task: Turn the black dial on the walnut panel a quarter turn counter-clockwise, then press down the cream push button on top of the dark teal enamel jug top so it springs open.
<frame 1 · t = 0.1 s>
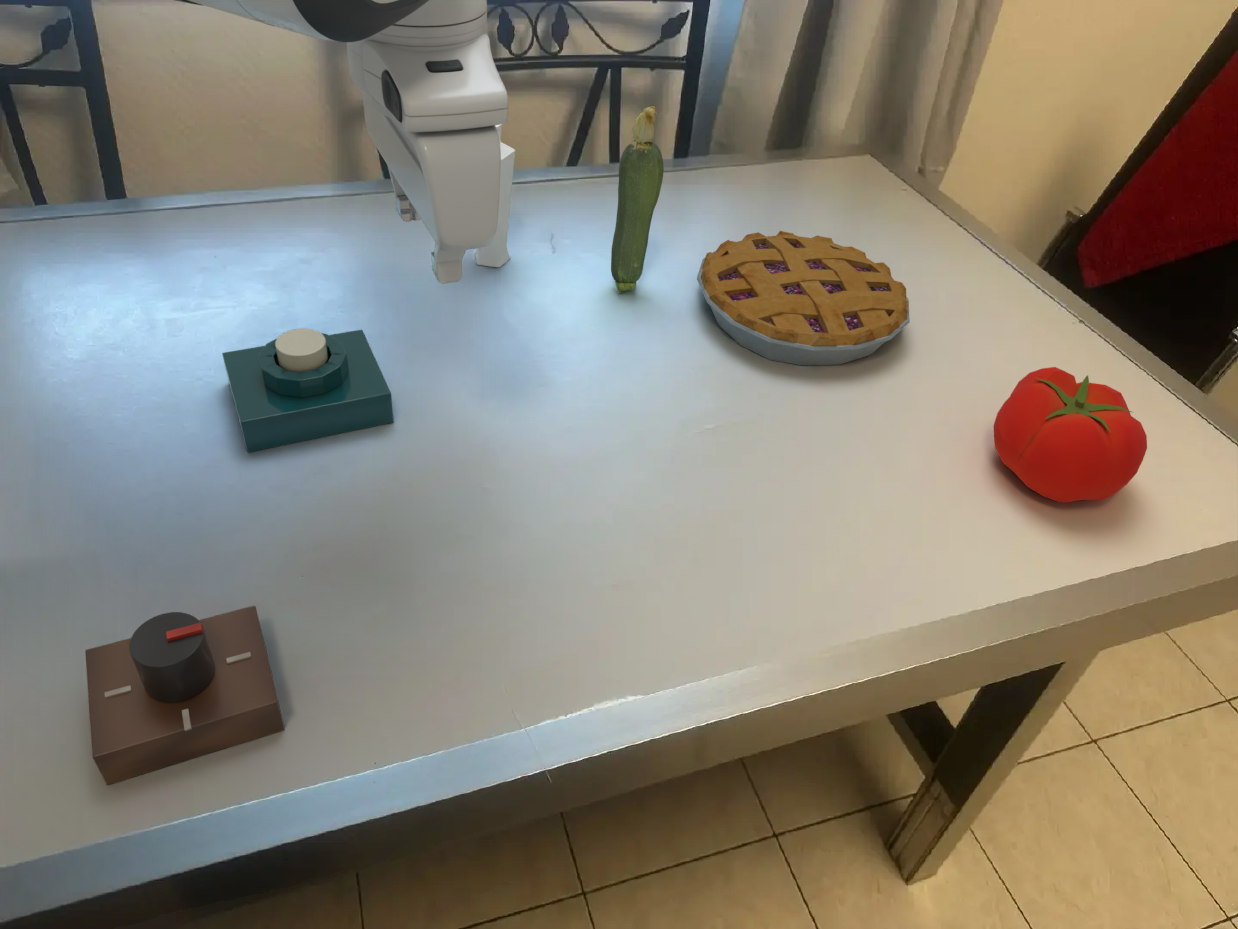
hand: (427, 246, 70), 17 cm above the table, tool pointing down, fingers open, 8 cm apart
vegetable: (628, 290, 102), on the table
pie: (796, 316, 101), on the table
dial: (172, 655, 56), point 5 cm above the table, hinge at 0.0°
jug top: (310, 402, 83), on the table
perfume bottle: (490, 260, 104), on the table
dial panel: (190, 704, 60), on the table
tomato: (1048, 473, 85), on the table
jug button: (301, 350, 79), point 5 cm above the table, slide at 0.1 cm
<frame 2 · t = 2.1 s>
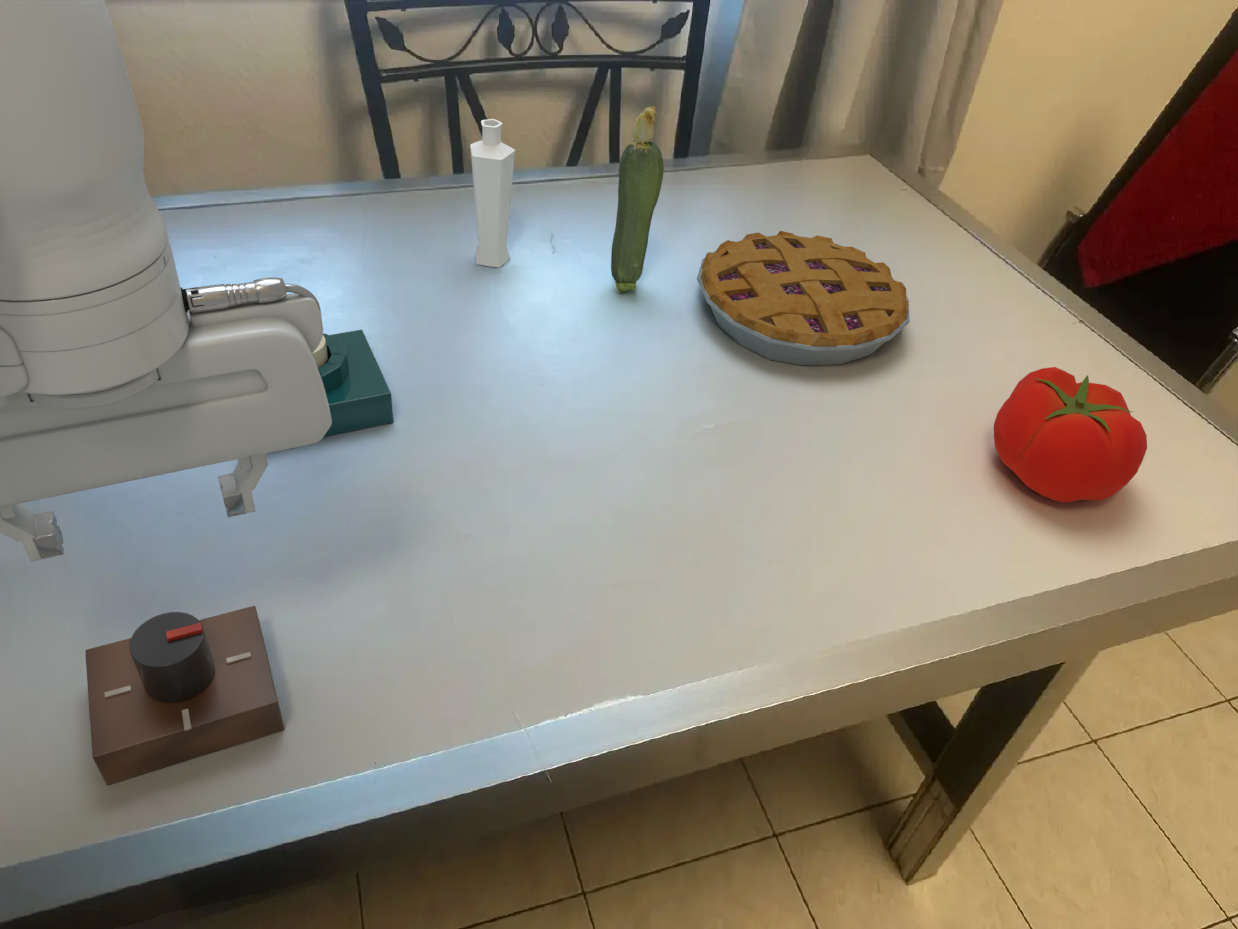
hand: (147, 528, 51), 14 cm above the table, tool pointing down, fingers open, 8 cm apart
nothing on the table moved.
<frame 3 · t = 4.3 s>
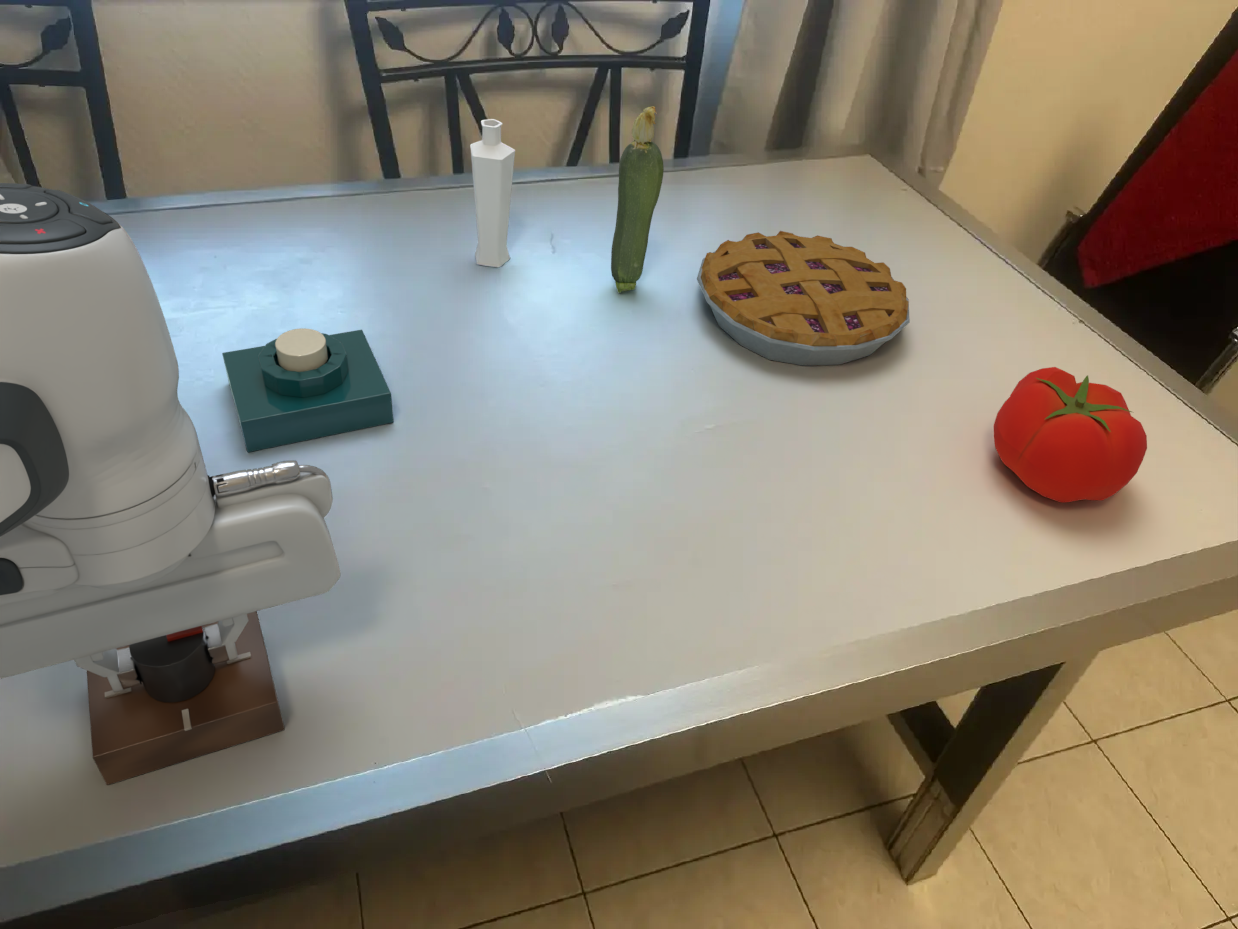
hand: (176, 666, 57), 4 cm above the table, tool pointing down, fingers closed on dial, 4 cm apart
dial: (172, 655, 56), point 5 cm above the table, hinge at 0.2°, touching gripper
everything else where it was.
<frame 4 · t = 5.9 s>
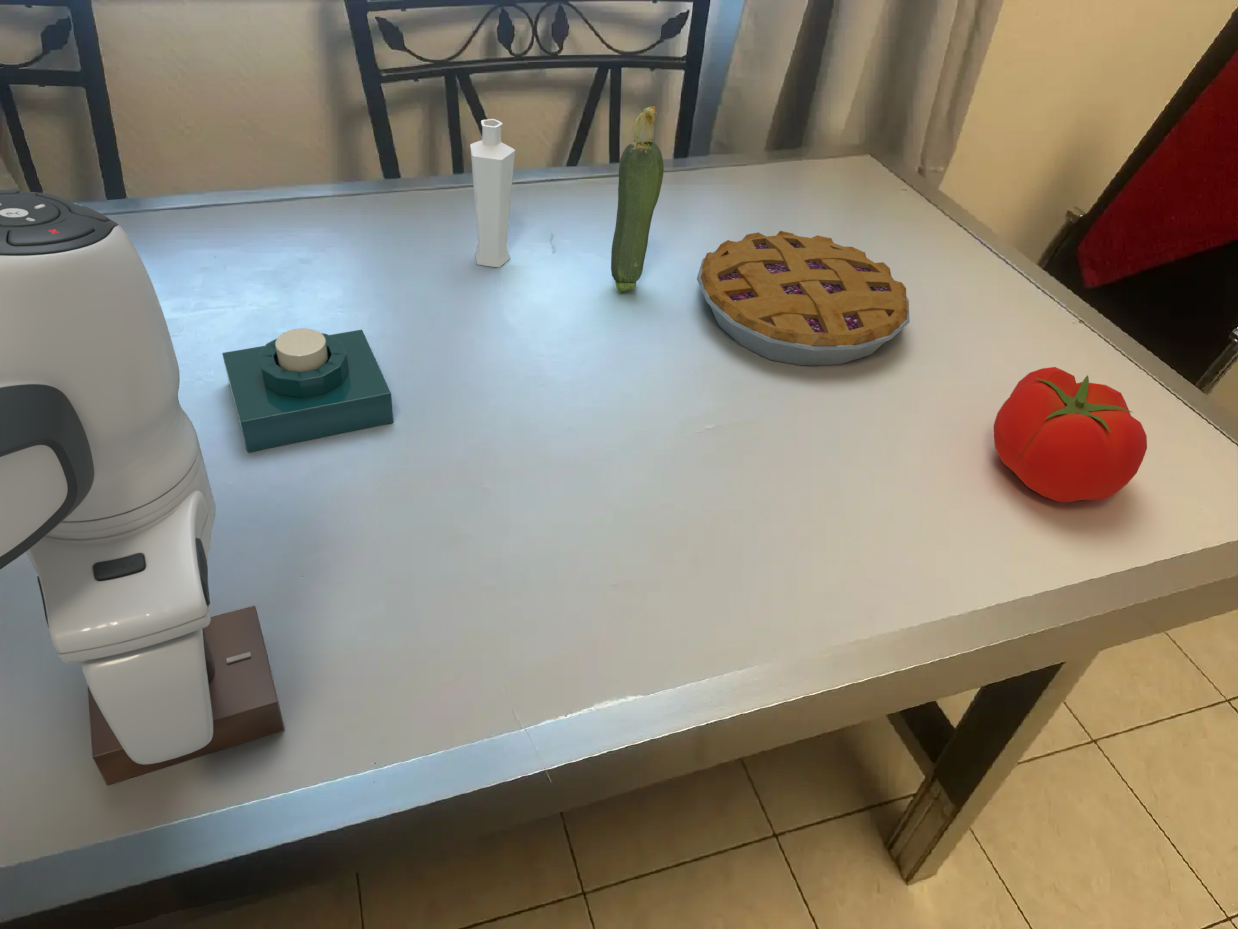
hand: (176, 668, 57), 4 cm above the table, tool pointing down, fingers open, 5 cm apart
dial: (172, 655, 56), point 5 cm above the table, hinge at 82.1°
everything else where it was.
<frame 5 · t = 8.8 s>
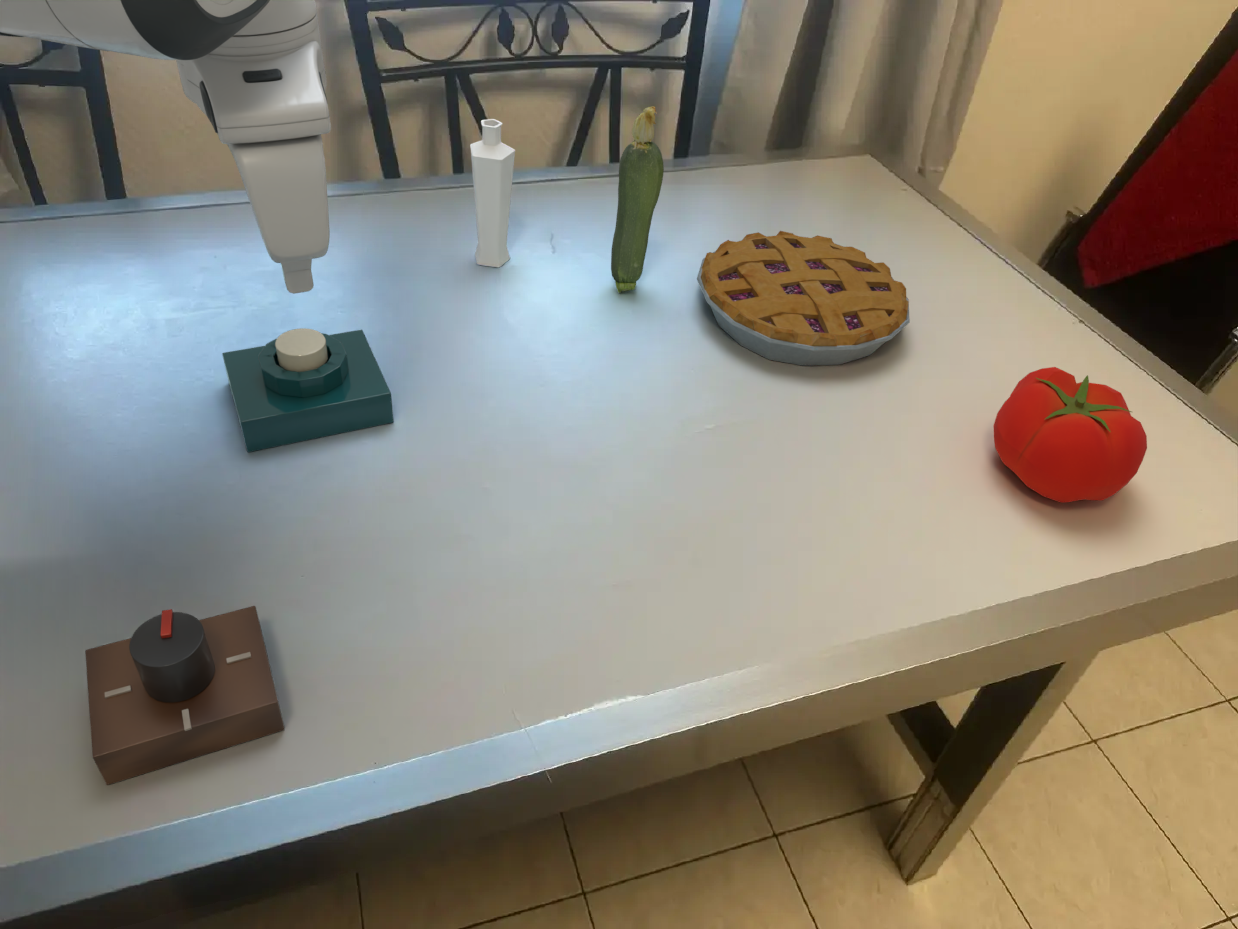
hand: (287, 254, 70), 16 cm above the table, tool pointing down, fingers open, 8 cm apart
nothing on the table moved.
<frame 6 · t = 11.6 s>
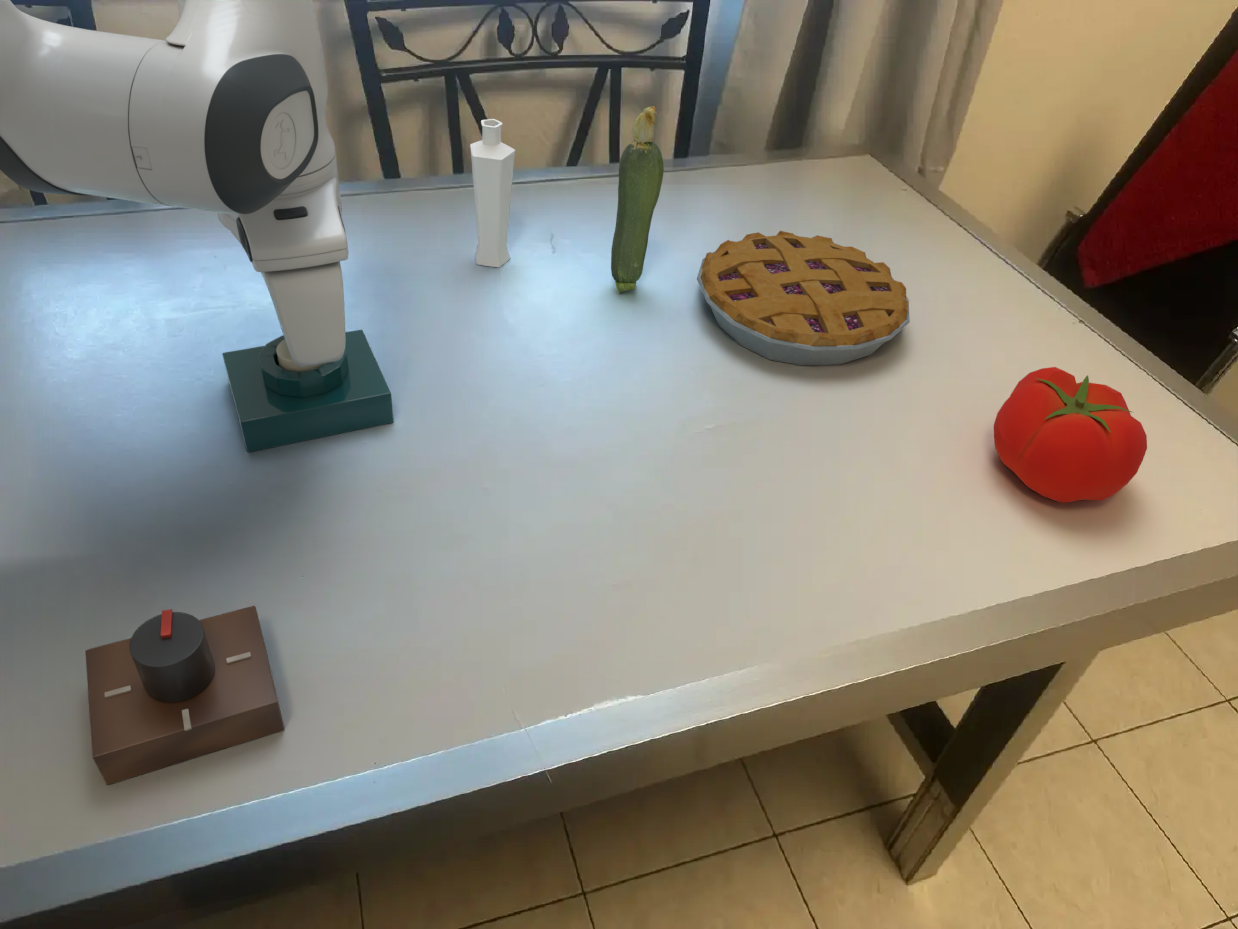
hand: (303, 347, 79), 6 cm above the table, tool pointing down, fingers closed, pressing on jug button
jug button: (302, 356, 80), point 5 cm above the table, slide at -0.5 cm, touching gripper
everything else where it was.
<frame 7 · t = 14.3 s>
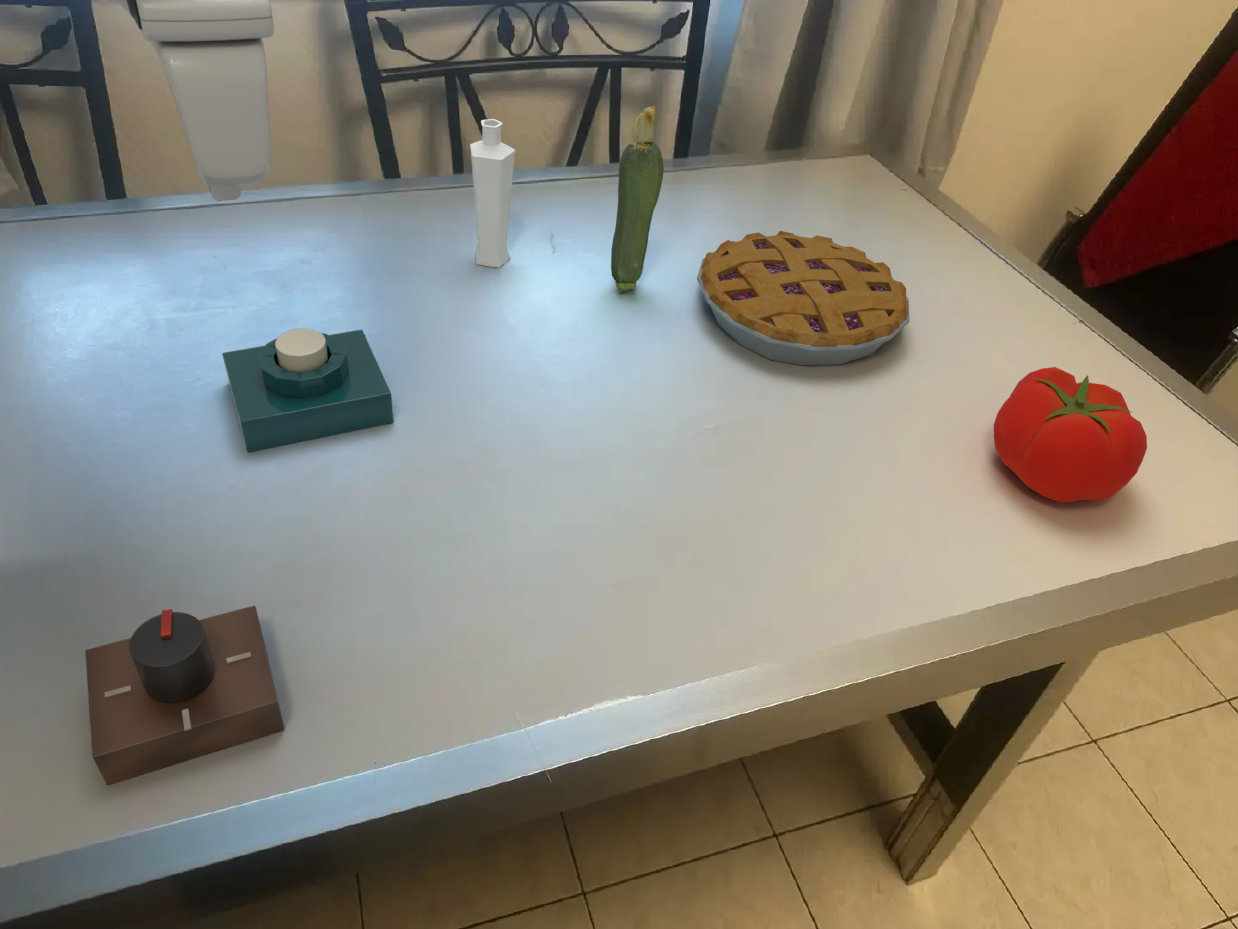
hand: (223, 190, 63), 23 cm above the table, tool pointing down, fingers closed
jug button: (301, 350, 79), point 5 cm above the table, slide at 0.1 cm
everything else where it was.
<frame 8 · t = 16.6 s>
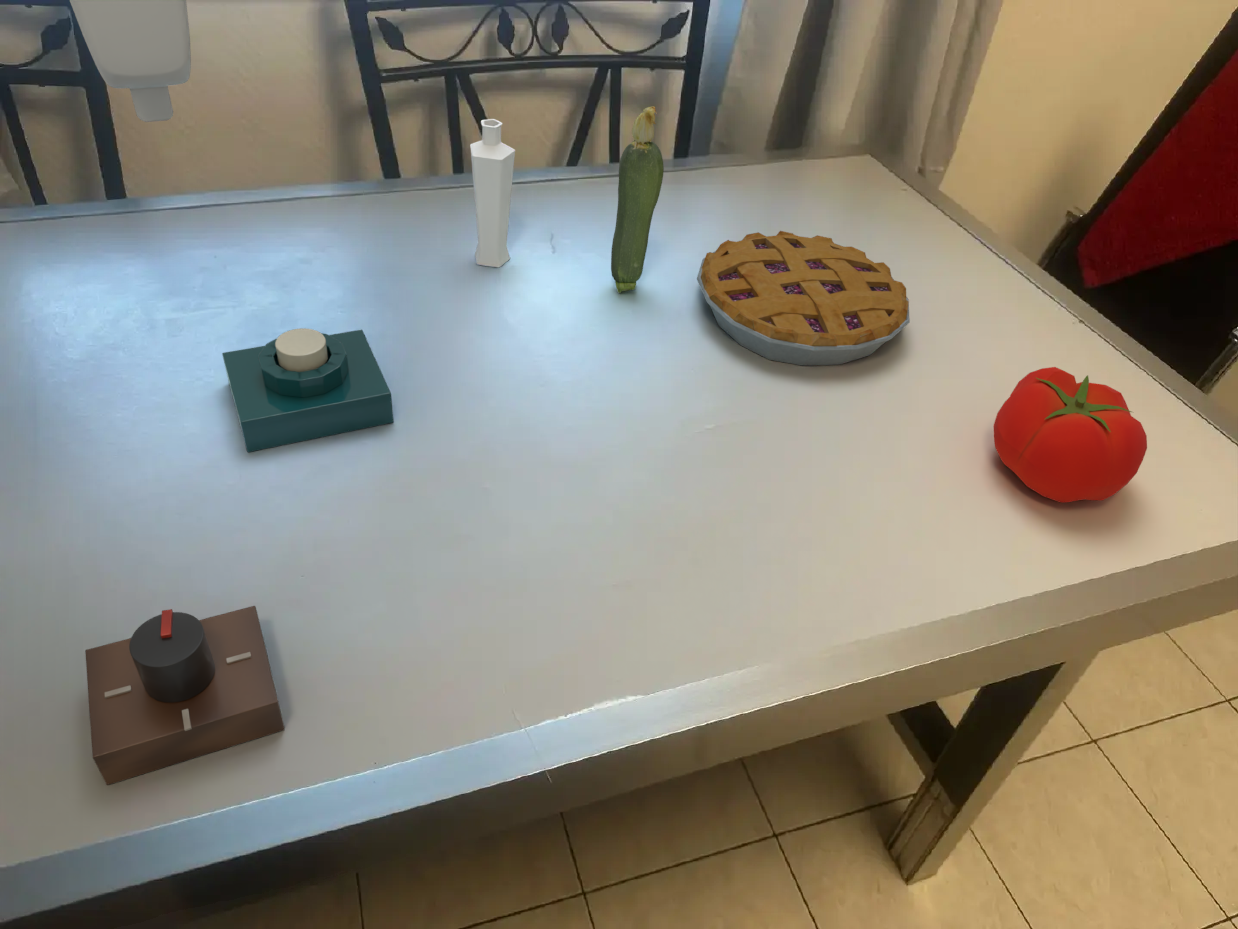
hand: (154, 111, 51), 31 cm above the table, tool pointing down, fingers closed
nothing on the table moved.
at the end: dial at +82° (first picture: +0°); jug button pushed in 1.0 cm at the most during the clip, back to where it started at the end; jug button slide at 0.1 cm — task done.
